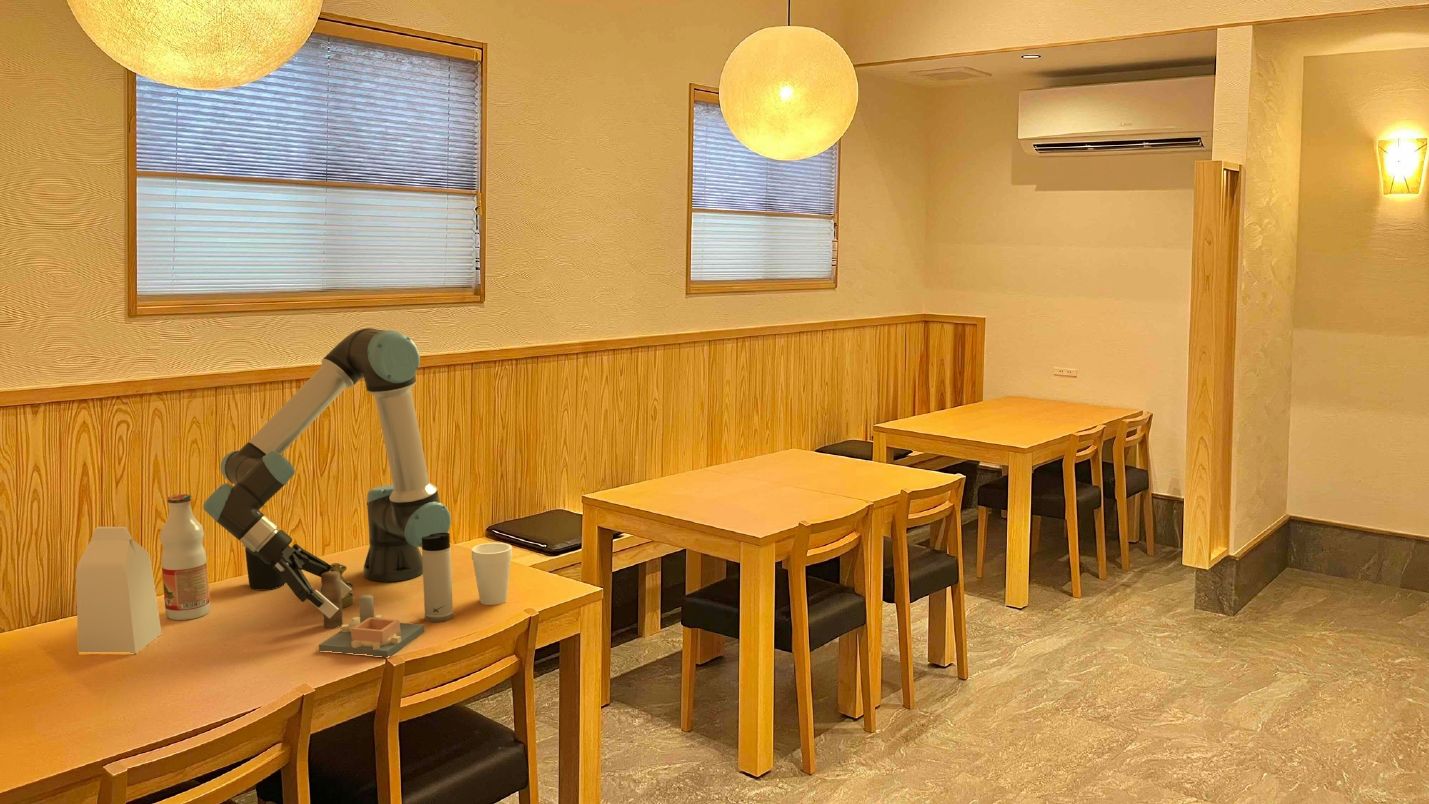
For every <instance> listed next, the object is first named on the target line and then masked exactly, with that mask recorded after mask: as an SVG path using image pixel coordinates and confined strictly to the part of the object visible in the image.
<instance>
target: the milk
mask: <svg viewBox="0 0 1429 804" xmlns="http://www.w3.org/2000/svg"><path fill="white" fill-rule="evenodd" d="M78 561H79V562H78V563H77V566H76V568H75V569H76V570H75V585H76V588H75V591H76V617H77V618H76V619H77V620H76V621H77V623H76V624H77V646H78V647H77V649H78V650H77V653H78V652H130V653H136V652H137V651H139V650H140V649H142V648H143V647H144V646H146V645H147V644H149V643H150V642H151V641H153V640H154V639H156V638H157V637H158V636H160V635H161V634H162V627H161V621H160V613H159V612H160V611H159V606H158V600H157V594H156V592H157V591H156V587H155V585H156V584H155V579H154V578H155V577H154V573H153V565H152V559H151V555H150V553H149V552H148V551H147V549H145V548H144V547H143V546H142V545H140V543H138V542H137V541H136V540H134V538H133V537H132V535H131V533H130V531H129V529H128V528H127V526H97V527H95V528H94V531H93V533H92V536H91V538H90V541H89V543H88V545H87V546H86V548H85V550H84V552H83V554H82V556H81V558H80V559H79V560H78ZM162 635H163V634H162ZM162 635H161V636H162ZM161 636H160V637H161ZM157 639H158V638H157ZM157 639H156V640H157ZM153 642H154V641H153ZM149 645H150V644H149Z"/></svg>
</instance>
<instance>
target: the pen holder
mask: <svg viewBox="0 0 1429 804" xmlns="http://www.w3.org/2000/svg"><path fill="white" fill-rule="evenodd" d="M244 550H245V559H246V560H245V561H246V570H247V576H248V578H247V579H248V585H249V587H250V588H251V590H255V589H270V590H274V589H273V588H276V587H279V586H282V585H283V586H285V585H286V584H287V583H286V582H285V581H284V580H283V578H282V577H281V576H280V575H279V574H278V573H277V572H276V571H275V570H274V569H273V567H274V566H275V565H276V564H277V563H276V562H275V561H273V562H272V563H271V564H266V563H265V562H264V561H263V560H261V559H260V558H259V557H258V556H257V553H258V552H257V551H255V552H252V551H251V550H250V549H249V548H248V547H244ZM284 584H285V585H284ZM283 586H282V587H283ZM279 588H280V587H279ZM276 589H277V588H276Z"/></svg>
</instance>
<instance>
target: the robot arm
mask: <svg viewBox="0 0 1429 804" xmlns="http://www.w3.org/2000/svg"><path fill="white" fill-rule="evenodd" d="M420 361H421V356H420V351H419V349H418V346H417V345H416V343H415V342H414V341H413V339H411V338H410V337H408V336H407V335H406V334H403V333H401V332H399V331H396V330H385V329H376V328H371V327H370V328H369V327H366V328H362V329H357V330H355V331H353V332H351V333H349V334H348V335H347V336H346V337H345V338H343V339H342V340H341V341H339V343H337V345H336V346H334V347H333V348H332V349H331V350H330V351H329V352H328V353H327V354H326V356H324V358H322V360H321V367H320V368H319V369H318V370H316V372H314V374H313V375H311V377H310V378H309V379H308V380H307V381H305V383H304V384H303V385H302V386H301V387H300V388H299V389H298V390H296V391H295V393H294V394H293V395H292V396H291V397H290V398H289V399H288V401H286V402H285V404H284V405H283V406H281V408H279V410H277V412H276V413H275V414H274V415H272V417H271V418H270V419H269V420H268V421H267V422H266V423H265V424H264V425H263V426H262V427H261V428H260V429H259V430H258V431H257V432H256V433H255V435H253V436H252V438H251V439H249V441H247V442H246V443H245V445H243V446H242V447H241V448H240V449H239V450H234V451H231V452H228V453H227V454H225V456H224V457H223V458H222V459H221V462H220V473H221V475H222V476H223V478H224V479H225V480H227V481H229V483H231V484H229V483H227V482H225V483H222V484H221V485H220V486H218V488H217V489H215V490H214V491H213V492H212V493H211V495H209V496H208V497H207V499H205V501H204V503H203V504H202V505H203V506H202V507H203V510H204V511H205V512H206V514H207V515H209V516H210V517H211V518H212V520H213V519H214V521H215V522H216V523H218V525H220V526H221V527H222V528H223V529H224V530H226V531H227V532H228V533H230V534H231V535H232V536H233V537H234V538H236V539H237V540H238V541H239V542H241V543H242V547H244V548H246V547H248V548H249V549H250V550H251V551H252V552H255V551H257V552H258V553H257V556H258V557H259V558H260V559H261V560H263V561H264V562H265V563H266V564H271V563H272V562H273V561H275V562H276V563H277V564H276V565H275V566H274V567H273V569H274V570H275V571H276V572H277V573H278V574H279V575H280V576H281V577H282V578H283V580H284V581H285V582H286V583H285V584H286V585H287V586H288V587H289V588H290V590H291V591H292V592H293V593H294V595H295V596H296V597H297V599H298V600H299V601H301V602H302V603H304V602H306V600H307V601H308V602H310V604H312V605H313V606H314V607H315V608H316V609H317V610H319V611H320V612H321V613H322V614H323V613H324V614H325V615H326V616H327V617H328V618H329V619H330V618H331V617H332V616H333V615H334V614H335V613H336V612H337V611H338V609H339V608H337V607H336V606H335V605H334V604H333V603H331V602H330V601H329V600H328V599H327V598H326V597H324V596H323V595H322V594H321V592H320V590H319V591H318V589H315V590H314V588H313V587H312V585H311V583H310V582H309V580H308V578H307V577H306V575H305V574H304V572H303V571H305V572H307V573H308V574H309V573H310V574H312V575H314V576H317V577H319V578H321V574H322V573H325V572H330V571H329V570H330V569H331V568H332V566H331V564H329V563H328V562H326V561H325V560H323V559H322V558H319V557H318V556H316V555H314V554H313V553H310V552H309V551H307V550H306V549H304V548H303V547H301V546H300V545H298V544H297V543H294V544H293V545H292V546H290V544H291V543H292V542H293V538H292V537H291V535H289V534H287V533H286V532H285V531H284V530H283V529H279V526H278V525H277V524H276V523H275V522H274V521H273V520H272V519H270V518H269V517H268V516H267V515H265V514H264V513H263V512H261V509H262V507H264V506H265V504H267V502H269V501H270V500H271V499H272V498H273V497H274V496H275V495H276V494H277V493H278V492H279V491H280V490H281V489H282V488H283V487H284V486H286V485H287V484H288V482H289V480H291V479H292V478H293V476H294V475H295V472H296V469H295V467H294V466H293V464H292V463H291V462H290V461H289V460H288V459H287V458H286V457H285V456H283V453H285V451H286V450H287V449H289V447H290V446H291V445H292V444H293V443H294V442H295V441H296V440H297V439H298V438H299V437H300V435H302V434H303V433H304V431H305V430H307V428H309V427H310V425H311V424H313V422H314V421H316V420H317V418H318V417H319V416H320V415H321V414H322V413H323V412H324V411H325V410H326V409H327V408H328V407H329V406H330V405H331V404H332V403H333V402H334V400H335V399H337V397H338V396H340V394H342V392H343V391H344V390H345V389H346V388H353V387H354V386H355V385H356V384H357V383H358V382H359V381H361V380H362V379H364V383H365V387H366V392H367V393H369V394H371V395H372V396H374V399H375V403H376V408H377V414H378V417H379V418H378V419H379V422H380V427H381V432H382V437H383V442H384V447H385V452H386V457H387V460H388V467H389V471H390V476H391V480H392V481H391V482H392V484H389V485H388V484H387V485H382V486H377V487H373V488H371V489H369V490H368V492H367V497H366V505H367V506H366V507H367V519H368V520H367V522H368V537H369V540H368V541H369V547H368V551H367V554H366V557H365V561H364V564H363V577H364V578H366V580H370V581H373V582H374V581H375V582H384V583H387V582H401V581H406V580H411V579H413V578H414V579H415V578H417V577H419V576H421V575H423V561H422V552H421V550H420V548H422V537H424V536H425V537H426V536H430V534H435V533H449V531H450V528H451V524H452V517H451V512H450V511H449V510H450V509H448V508H447V506H445V504H444V503H441V502H440V496H439V490H438V487H437V486H436V485H434V483H431V482H430V477H429V473H428V467H427V463H426V457H425V453H424V449H423V447H424V446H423V444H422V439H421V438H422V437H421V432H420V428H419V423H418V422H419V421H418V417H417V413H416V412H417V411H416V408H415V402H414V397H413V392H412V391H413V388H414V387H415V385H416V383H417V378H416V374H417V370H418V369H419V367H420V365H421V364H420V363H421V362H420ZM232 484H234V485H232ZM340 584H341V597H342V598H344V597H345V596H346V595H347V594H348V593H349V592H350V591H351V588H350V587H349V586H347V585H346V584H345V583H344V582H343V581H342V580H340Z"/></svg>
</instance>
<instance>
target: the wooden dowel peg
mask: <svg viewBox="0 0 1429 804" xmlns="http://www.w3.org/2000/svg"><path fill="white" fill-rule="evenodd" d="M320 578H321V579H320V580H321V581H320V584H321V587H322V595H323V596H324V597H326V598H327V599H328V600H329V601H330V602H331V603H333V604H334V605H335V606H336V607H337V608H339V609H338V611H337V612H336V613H335V614H334V615H333V616H332V617H331V618H330V619H329V618H328V617H327V616H326V615H325V614H324V613H322V616H323V627H324V628H325V627H326V628H325V629H328V628H333V629H337V628H336V627H338V626H342V624H343V625H344V623H343V608H342V602H341V584H340V573H339V572H336V571H330V572H325V573H322V574H321V577H320ZM338 628H339V627H338Z"/></svg>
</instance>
